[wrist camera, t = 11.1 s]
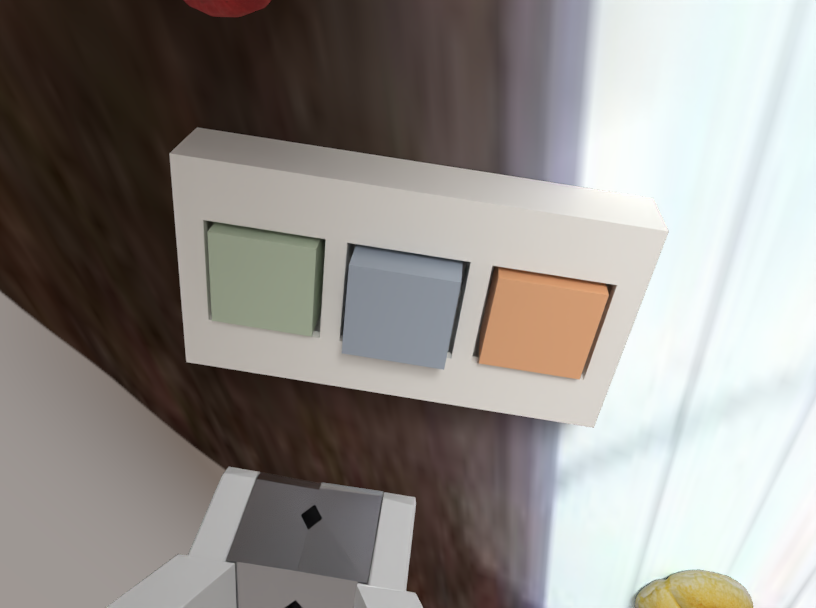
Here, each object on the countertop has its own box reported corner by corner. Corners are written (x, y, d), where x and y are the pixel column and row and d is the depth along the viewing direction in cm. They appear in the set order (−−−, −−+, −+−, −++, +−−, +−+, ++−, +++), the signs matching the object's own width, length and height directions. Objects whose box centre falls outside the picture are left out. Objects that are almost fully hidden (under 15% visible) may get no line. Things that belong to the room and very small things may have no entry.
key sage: (225, 207, 39) (207, 231, 37) (327, 223, 39) (316, 249, 37) (228, 293, 43) (211, 320, 40) (322, 308, 43) (311, 336, 40)
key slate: (358, 238, 38) (348, 264, 36) (463, 254, 38) (461, 282, 36) (350, 323, 42) (341, 353, 39) (446, 338, 42) (444, 369, 39)
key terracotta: (498, 250, 39) (498, 277, 37) (601, 266, 39) (609, 295, 37) (479, 333, 43) (478, 363, 40) (574, 348, 42) (579, 379, 40)
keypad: (197, 127, 38) (169, 153, 35) (653, 198, 38) (668, 231, 35) (208, 325, 46) (186, 361, 43) (586, 386, 46) (593, 427, 43)
